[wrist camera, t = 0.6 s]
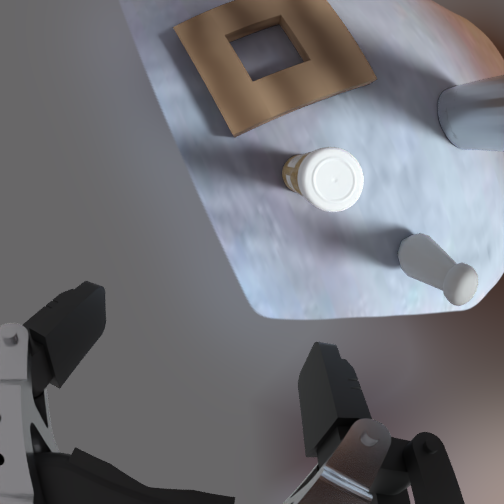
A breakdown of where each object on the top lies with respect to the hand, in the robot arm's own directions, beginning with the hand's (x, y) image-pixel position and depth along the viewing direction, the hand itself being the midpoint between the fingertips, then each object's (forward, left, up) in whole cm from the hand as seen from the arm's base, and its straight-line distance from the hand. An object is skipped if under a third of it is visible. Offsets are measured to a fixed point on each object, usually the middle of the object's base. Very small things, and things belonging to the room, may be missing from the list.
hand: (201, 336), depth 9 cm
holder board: (-13, -16, -24) cm, 31 cm away
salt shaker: (-19, +14, -24) cm, 33 cm away
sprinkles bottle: (-9, -1, -24) cm, 25 cm away
